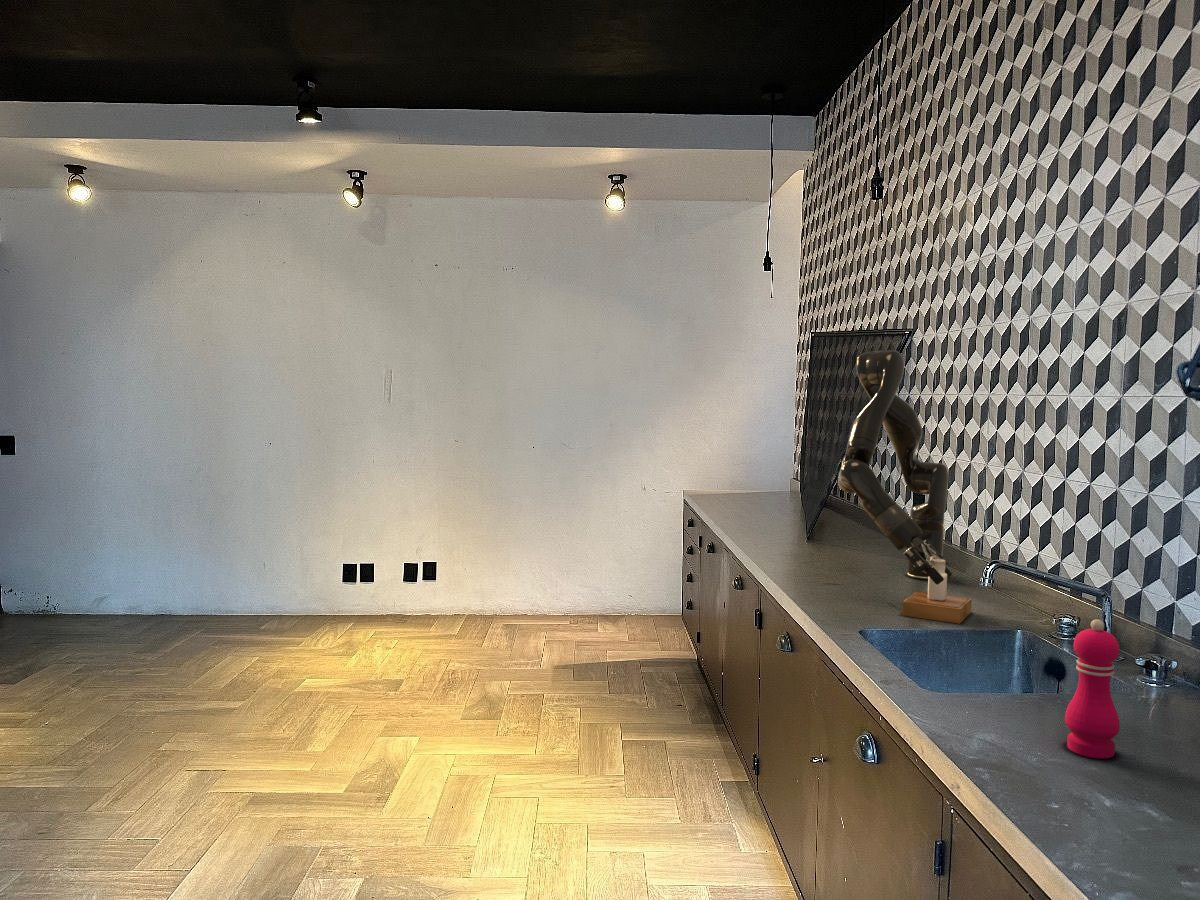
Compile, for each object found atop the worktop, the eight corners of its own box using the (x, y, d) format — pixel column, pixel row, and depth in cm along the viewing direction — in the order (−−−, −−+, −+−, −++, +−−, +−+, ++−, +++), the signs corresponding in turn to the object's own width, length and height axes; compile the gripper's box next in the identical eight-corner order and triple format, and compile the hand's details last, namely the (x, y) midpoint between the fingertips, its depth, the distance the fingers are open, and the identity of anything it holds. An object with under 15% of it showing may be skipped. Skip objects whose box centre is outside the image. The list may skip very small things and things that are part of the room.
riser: (916, 605, 228) (916, 590, 227) (970, 612, 221) (971, 597, 220) (902, 615, 217) (903, 600, 216) (959, 623, 210) (960, 608, 209)
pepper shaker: (946, 598, 219) (948, 559, 219) (945, 601, 216) (946, 562, 215) (928, 596, 221) (930, 557, 220) (927, 599, 218) (928, 560, 217)
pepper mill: (1053, 741, 139) (1060, 613, 138) (1098, 740, 140) (1105, 613, 139) (1082, 761, 132) (1089, 626, 131) (1129, 760, 133) (1137, 625, 131)
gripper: (900, 520, 215) (949, 575, 210) (917, 513, 227) (964, 565, 221) (877, 539, 219) (925, 594, 213) (895, 532, 231) (941, 584, 225)
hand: (945, 579), depth 217 cm, fingers open, 7 cm apart
